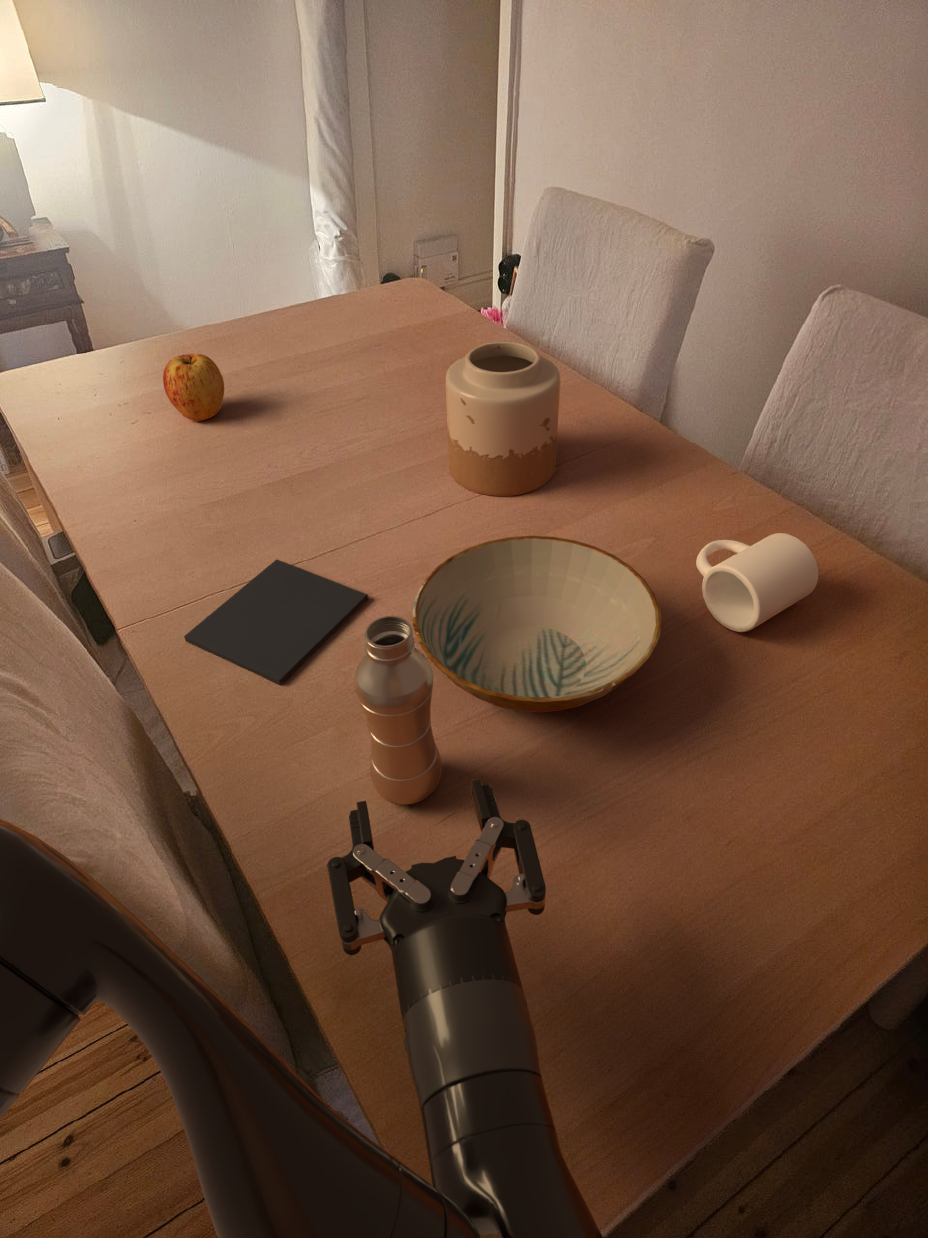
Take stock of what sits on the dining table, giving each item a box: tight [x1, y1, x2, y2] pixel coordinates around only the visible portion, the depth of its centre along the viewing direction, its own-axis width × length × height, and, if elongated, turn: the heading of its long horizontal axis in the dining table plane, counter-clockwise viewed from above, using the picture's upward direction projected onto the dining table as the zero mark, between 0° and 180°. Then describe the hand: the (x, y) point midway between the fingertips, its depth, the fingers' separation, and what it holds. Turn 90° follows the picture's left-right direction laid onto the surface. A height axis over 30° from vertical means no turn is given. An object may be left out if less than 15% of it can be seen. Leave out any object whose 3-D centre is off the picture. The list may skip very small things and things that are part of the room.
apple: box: [162, 353, 225, 422], centre depth 129 cm, size 9×9×10 cm
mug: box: [695, 532, 819, 633], centre depth 93 cm, size 12×10×8 cm
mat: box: [183, 559, 369, 686], centre depth 95 cm, size 16×14×1 cm
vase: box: [444, 341, 561, 497], centre depth 112 cm, size 15×15×17 cm
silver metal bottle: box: [353, 615, 443, 806], centre depth 71 cm, size 6×7×20 cm
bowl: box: [412, 535, 662, 713], centre depth 86 cm, size 25×25×8 cm
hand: (419, 796), depth 61 cm, fingers open, 8 cm apart
